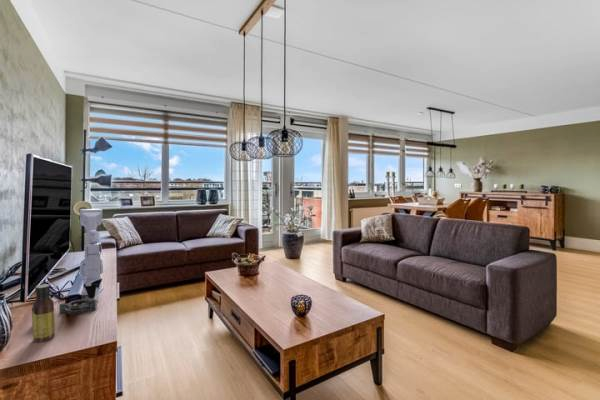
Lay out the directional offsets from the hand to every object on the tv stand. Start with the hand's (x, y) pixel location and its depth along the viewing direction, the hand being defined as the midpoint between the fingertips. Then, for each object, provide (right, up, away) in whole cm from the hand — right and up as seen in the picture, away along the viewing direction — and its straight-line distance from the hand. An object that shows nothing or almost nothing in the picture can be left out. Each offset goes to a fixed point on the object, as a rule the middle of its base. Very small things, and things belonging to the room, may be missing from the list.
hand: (93, 296), depth 145 cm
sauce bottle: (+5, -5, -34) cm, 35 cm away
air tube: (0, -3, 0) cm, 3 cm away
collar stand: (0, -4, -10) cm, 10 cm away
